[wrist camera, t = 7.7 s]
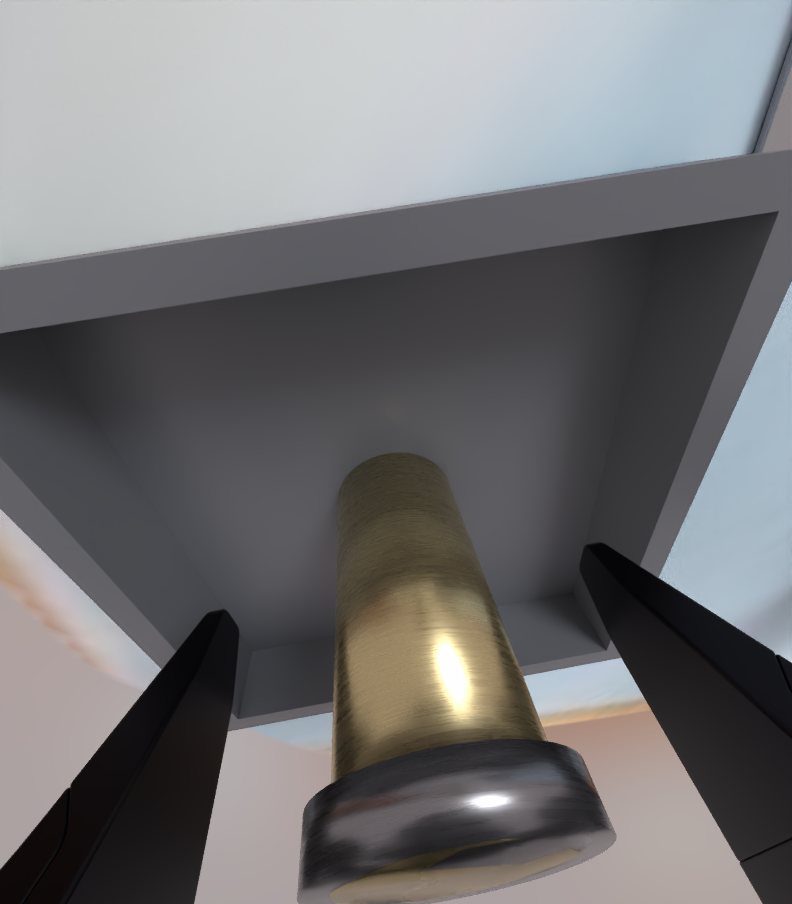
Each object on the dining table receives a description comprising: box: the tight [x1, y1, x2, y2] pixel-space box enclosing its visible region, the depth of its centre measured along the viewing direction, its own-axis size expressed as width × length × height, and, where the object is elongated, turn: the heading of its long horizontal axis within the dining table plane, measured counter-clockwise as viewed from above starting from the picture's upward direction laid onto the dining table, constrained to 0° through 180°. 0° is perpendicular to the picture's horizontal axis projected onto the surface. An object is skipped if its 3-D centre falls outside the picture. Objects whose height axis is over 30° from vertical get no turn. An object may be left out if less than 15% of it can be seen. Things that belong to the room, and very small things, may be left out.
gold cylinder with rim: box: [297, 452, 616, 904], centre depth 8 cm, size 4×4×8 cm
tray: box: [0, 148, 792, 731], centre depth 11 cm, size 16×16×3 cm
